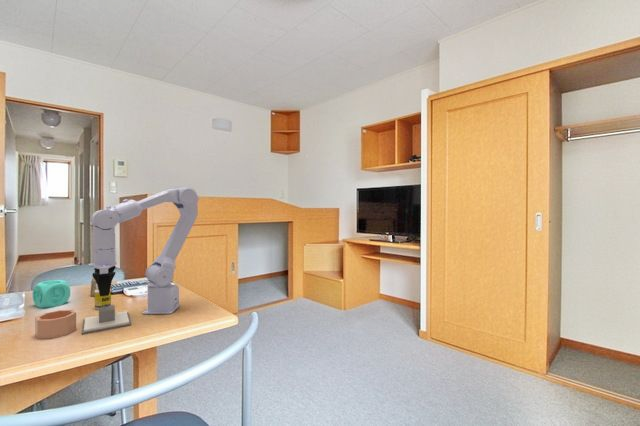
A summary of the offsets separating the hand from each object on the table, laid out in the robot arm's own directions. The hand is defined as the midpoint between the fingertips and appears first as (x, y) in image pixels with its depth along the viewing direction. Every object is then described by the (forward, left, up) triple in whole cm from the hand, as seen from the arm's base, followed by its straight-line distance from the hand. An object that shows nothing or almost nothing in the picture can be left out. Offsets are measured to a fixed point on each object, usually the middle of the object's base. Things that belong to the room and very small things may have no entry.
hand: (104, 292), depth 96 cm
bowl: (+9, +7, -9) cm, 15 cm away
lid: (-1, +1, -9) cm, 9 cm away
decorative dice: (+29, -18, -10) cm, 36 cm away
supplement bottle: (+9, -14, -10) cm, 20 cm away
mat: (-1, +1, -9) cm, 9 cm away
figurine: (+19, -30, -10) cm, 37 cm away
